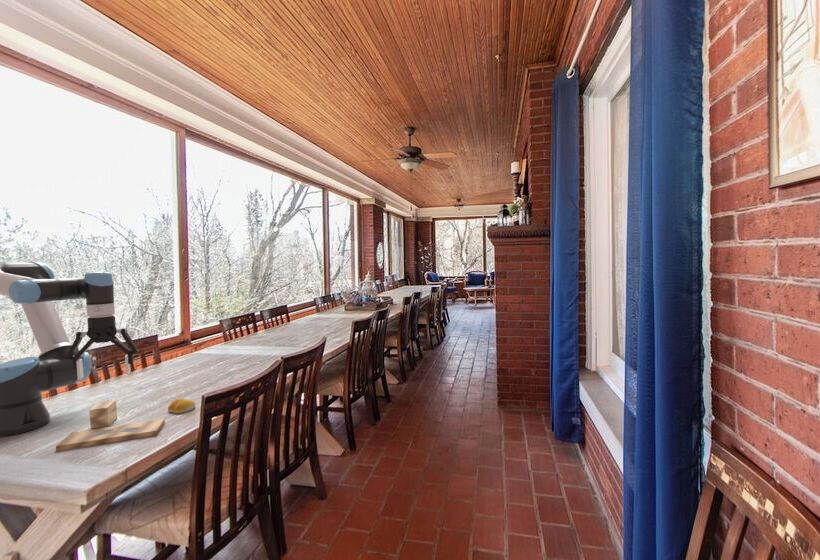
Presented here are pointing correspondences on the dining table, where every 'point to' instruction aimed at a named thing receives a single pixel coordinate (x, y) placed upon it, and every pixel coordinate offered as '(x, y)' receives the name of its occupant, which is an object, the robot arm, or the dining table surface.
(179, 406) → the bread roll
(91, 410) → the block
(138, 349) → the robot arm
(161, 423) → the oak plank
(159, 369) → the dining table surface
